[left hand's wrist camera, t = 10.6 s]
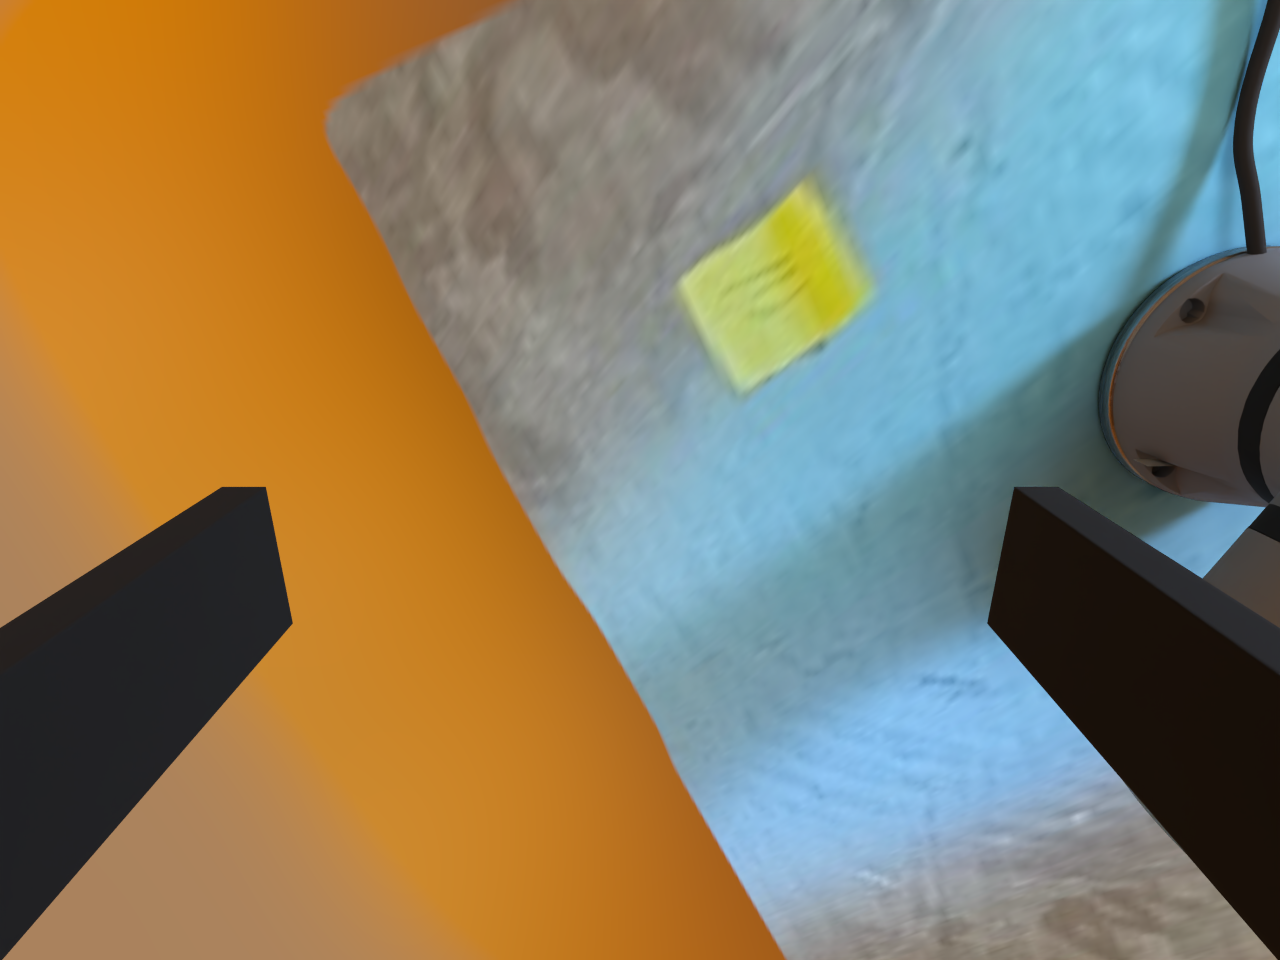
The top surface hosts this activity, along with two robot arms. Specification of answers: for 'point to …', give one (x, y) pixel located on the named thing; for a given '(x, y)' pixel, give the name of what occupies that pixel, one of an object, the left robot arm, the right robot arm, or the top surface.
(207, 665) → the left robot arm
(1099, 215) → the top surface
